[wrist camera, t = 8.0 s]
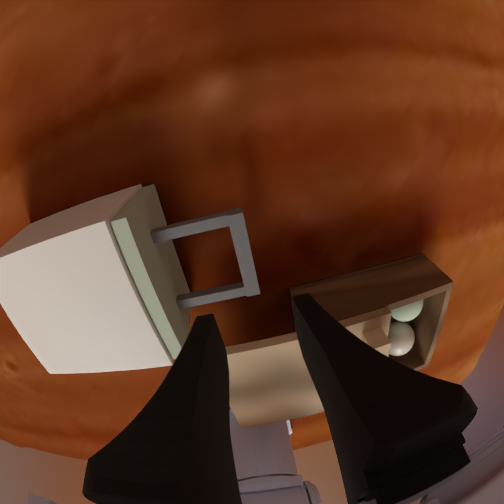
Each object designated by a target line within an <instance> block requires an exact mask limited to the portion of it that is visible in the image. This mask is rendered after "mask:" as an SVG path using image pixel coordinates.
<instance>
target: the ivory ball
mask: <svg viewBox="0 0 504 504" xmlns="http://www.w3.org/2000/svg"><path fill="white" fill-rule="evenodd" d="M388 339H389V340H390V342H391V347H390V352H389V354H391V355H394V356H401V355H404V354H406V353H407V352H408V351H409V350H410V349H411V348H412V346H413V344H414V340H415V334H414V331H413V329H412V327H411V326H410V325H408V324H407V323H405V322H394V323H392V324H390V327H389V333H388Z"/></svg>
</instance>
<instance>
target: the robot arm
mask: <svg viewBox="0 0 504 504" xmlns="http://www.w3.org/2000/svg"><path fill="white" fill-rule="evenodd" d="M292 303H293V311H294V318H295V326H296V333H297V338H298V342H299V345H300V349H301V352H302V356H303V359H304V361H305V364H306V366H307V369H308V371H309V374H310V376H311V378H312V381H313V383H314V386H315V388H316V391H317V393H318V395H319V398H320V400H321V403H322V405H323V408H324V411H325V414H326V417H327V421H328V424H329V428H330V432H331V435H332V439H333V443H334V446H335V450H336V454H337V458H338V462H339V466H340V470H341V474H342V479H343V483H344V488H345V492H346V497H347V502H348V504H410V503H412V502H414V501H416V500H418V499H420V498H422V497H423V498H422V499H421V501H420V504H504V426H503V427H502V428H500V429H499V430H498V431H497V432H495V433H494V434H493V435H491V436H490V437H489V438H487V439H486V440H485V441H483V442H482V443H480V444H479V445H477V446H476V447H475V448H473V449H471V450H470V451H468V452H467V453H466V451H465V449H464V447H463V445H462V444H464V443H465V439H464V437H463V435H462V432H463V431H464V429H465V428H466V427H467V426H468V425H469V423H470V422H471V421H472V420H473V418H474V416H475V415H476V412H477V409H478V408H477V406H476V405H475V403H474V402H473V400H472V398H471V397H470V395H469V394H468V393H467V391H466V390H465V389H464V388H463V387H462V385H458V384H455V383H451V382H448V381H444V380H441V379H437V378H434V377H431V376H429V375H426V374H423V373H421V372H418V371H416V370H414V369H411V368H409V367H407V366H405V365H403V364H401V363H399V362H397V361H395V360H393V359H391V358H389V357H387V356H386V355H384V354H382V353H380V352H379V351H377V350H376V349H374V348H372V347H371V346H369V345H368V344H366V343H365V342H364V341H362V340H361V339H359V338H358V337H357V336H355V335H354V334H353V333H351V332H350V331H349V330H348V329H346V328H345V327H344V326H343V325H342V324H341V323H339V322H338V321H337V320H336V319H335V318H334V317H332V316H331V315H330V314H329V313H328V312H327V311H326V310H325V309H324V308H323V307H322V306H321V305H320V304H319V303H318V302H317V301H316V300H315V299H314V298H313V297H312V296H311V295H310V294H309V293H305V294H301V295H297V296H292ZM290 434H292V429H291V424H290V420H287V421H283V422H278V423H273V424H268V425H262V426H257V427H251V428H245V429H241V427H240V425H239V423H238V421H237V419H236V417H235V415H234V413H233V411H232V410H231V408H230V391H229V366H228V358H227V351H226V348H225V345H224V343H223V340H222V337H221V335H220V332H219V329H218V326H217V323H216V321H215V318H214V315H213V314H208V315H203V316H198V317H197V318H196V319H195V321H194V323H193V326H192V328H191V330H190V332H189V334H188V336H187V339H186V341H185V343H184V345H183V347H182V349H181V351H180V352H179V354H178V356H177V358H176V360H175V362H174V364H173V365H172V367H171V369H170V370H169V372H168V374H167V376H166V377H165V379H164V380H163V382H162V383H161V385H160V387H159V388H158V389H157V391H156V392H155V394H154V395H153V396H152V398H151V399H150V400H149V402H148V403H147V404H146V405H145V407H144V408H143V409H142V410H141V412H140V413H139V414H138V415H137V416H136V417H135V418H134V420H133V421H132V422H131V423H130V424H129V425H128V426H127V427H126V428H125V429H124V430H123V431H122V432H121V433H120V434H119V435H118V436H116V437H115V438H114V439H113V440H112V441H111V442H110V443H109V444H107V445H106V446H105V447H104V448H102V449H101V450H100V451H98V452H97V453H96V454H95V455H93V456H92V457H91V458H89V459H88V463H87V467H86V472H85V478H84V485H83V495H84V496H85V497H86V498H87V499H88V500H90V501H92V502H94V503H96V504H322V501H321V498H320V495H319V492H318V490H317V487H316V486H315V485H314V484H312V483H311V482H310V481H303V479H302V475H298V472H297V468H296V463H295V459H294V454H293V449H292V445H291V440H290V436H289V435H290ZM27 504H57V503H55V502H53V501H50V500H48V499H45V498H43V497H40V496H37V495H35V494H32V493H29V494H28V499H27Z"/></svg>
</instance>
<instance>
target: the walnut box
mask: <svg viewBox="0 0 504 504" xmlns="http://www.w3.org/2000/svg"><path fill="white" fill-rule="evenodd" d="M452 286H453V281H452V280H451V279H450V278H449V277H448V276H447V275H446V274H445V273H444V272H443V271H441V270H440V269H439V268H438V267H437V266H436V265H435V264H434V263H432V262H431V261H430V260H429V259H428V258H427V257H426V256H424V255H423V254H418V255H415V256H411V257H408V258H404V259H401V260H397V261H394V262H390V263H386V264H383V265H379V266H375V267H372V268H368V269H364V270H360V271H356V272H353V273H349V274H345V275H341V276H337V277H333V278H329V279H325V280H321V281H317V282H313V283H308V284H304V285H300V286H296V287H291V288H289V290H290V297H291V304H292V311H293V303H292V296H297V295H301V294H305V293H309V294H310V295H311V296H312V297H313V298H314V299H315V300H316V301H317V302H318V303H319V304H320V305H321V306H322V307H323V308H324V309H325V310H326V311H327V312H328V313H329V314H330V315H331V316H332V317H334V318H335V319H336V320H337V321H340V320H344V319H347V318H351V317H354V316H357V315H361V314H364V313H367V312H371V311H374V310H377V309H380V308H383V307H388V308H389V310H390V311H391V310H394V309H397V308H400V307H403V306H405V305H408V304H411V303H414V302H417V301H419V300H422V299H423V307H422V310H421V312H420V313H419V315H418V316H417V317H415V318H414V319H412V320H410V321H405V323H407V324H408V325H410V326H411V327H412V329H413V331H414V334H415V340H414V344H413V346H412V348H411V349H410V350H409V351H408V352H407V353H406V354H404V355H401V356H394V355H391V354H389V358H391V359H393V360H395V361H397V362H399V363H401V364H403V365H405V366H407V367H409V368H411V369H414V370H416V371H417V370H420V369H422V368H424V367H426V366H428V365H429V362H430V360H431V357H432V354H433V351H434V349H435V346H436V343H437V340H438V337H439V334H440V330H441V327H442V324H443V320H444V317H445V313H446V310H447V306H448V302H449V298H450V294H451V290H452ZM293 319H294V326H295V318H294V311H293ZM394 322H403V321H398V320H396V319H395V318H393V317H392V316H391V321H390V324H392V323H394ZM295 332H296V326H295Z"/></svg>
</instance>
